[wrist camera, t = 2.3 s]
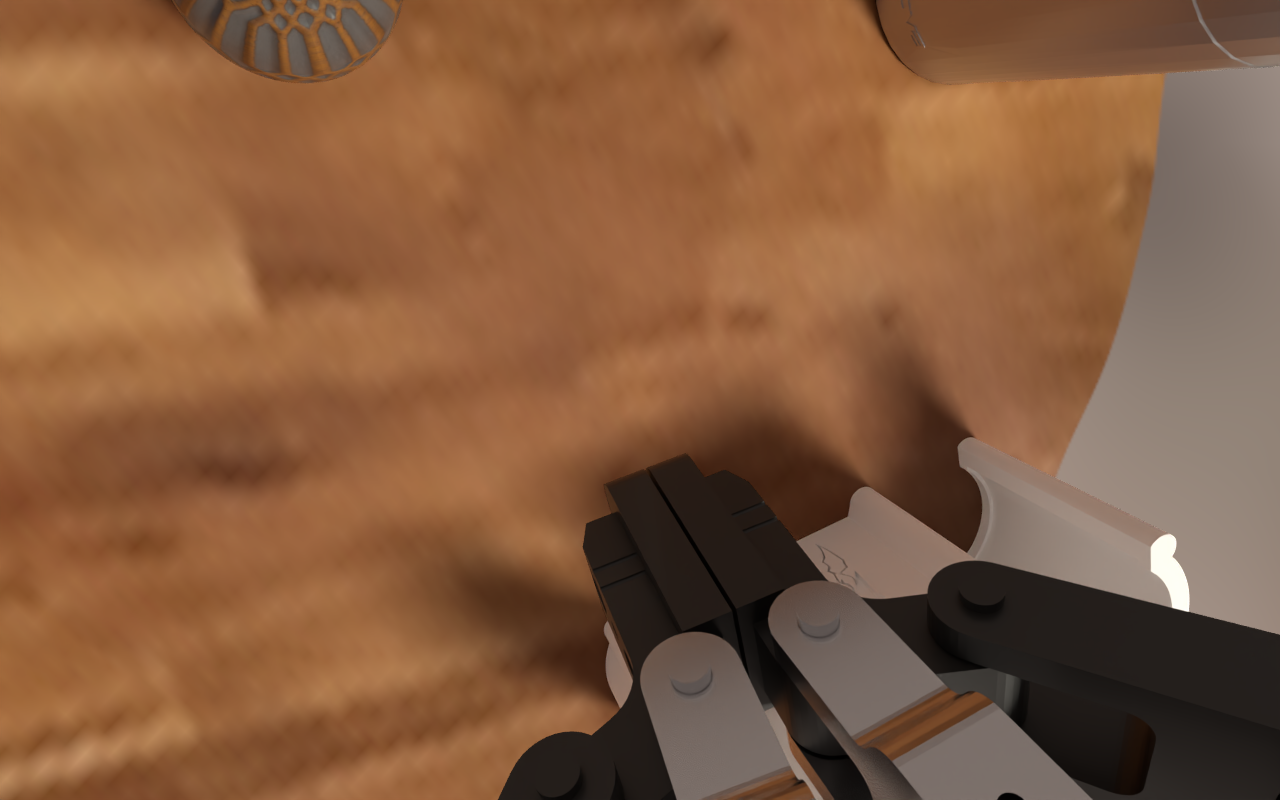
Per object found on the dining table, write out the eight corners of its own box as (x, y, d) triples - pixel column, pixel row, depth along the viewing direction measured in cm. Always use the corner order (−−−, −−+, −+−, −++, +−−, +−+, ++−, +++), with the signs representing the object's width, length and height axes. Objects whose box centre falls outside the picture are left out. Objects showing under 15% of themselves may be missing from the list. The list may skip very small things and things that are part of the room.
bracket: (634, 751, 44) (732, 958, 33) (582, 616, 40) (674, 801, 29) (1001, 561, 49) (1188, 685, 38) (988, 425, 45) (1193, 521, 34)
